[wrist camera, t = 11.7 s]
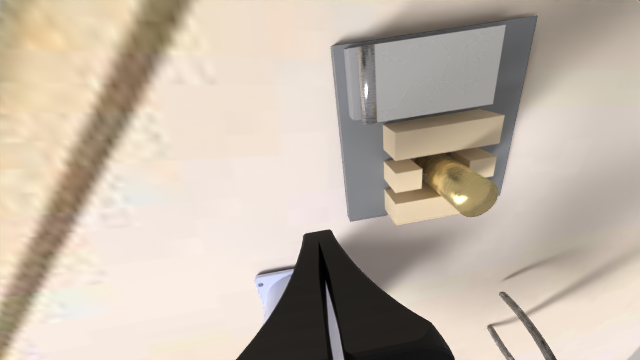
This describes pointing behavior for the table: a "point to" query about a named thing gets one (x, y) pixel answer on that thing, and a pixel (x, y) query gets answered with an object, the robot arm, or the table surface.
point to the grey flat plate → (429, 74)
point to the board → (370, 134)
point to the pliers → (530, 327)
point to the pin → (458, 184)
